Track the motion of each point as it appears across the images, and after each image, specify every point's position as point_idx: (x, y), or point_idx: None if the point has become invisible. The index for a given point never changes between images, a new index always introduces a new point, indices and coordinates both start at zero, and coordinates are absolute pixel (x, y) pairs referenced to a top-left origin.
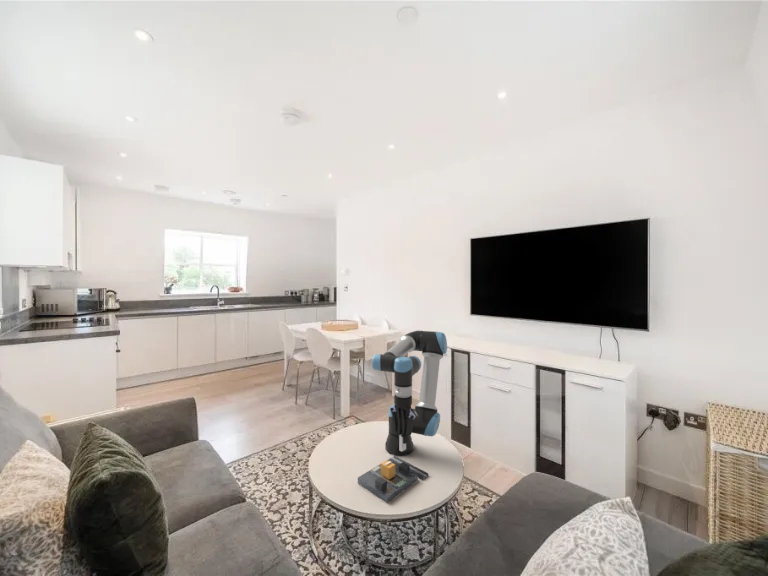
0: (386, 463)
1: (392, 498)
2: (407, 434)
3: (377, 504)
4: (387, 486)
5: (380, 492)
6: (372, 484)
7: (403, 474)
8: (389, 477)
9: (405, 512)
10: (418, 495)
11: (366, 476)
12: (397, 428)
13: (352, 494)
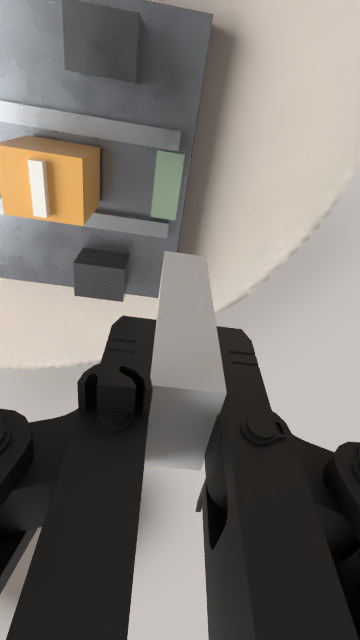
0: (36, 204)
1: None
2: (344, 560)
3: (143, 307)
4: (125, 245)
5: (128, 293)
6: (62, 273)
7: (125, 83)
8: (97, 204)
9: (253, 283)
10: (264, 158)
11: None
12: (11, 524)
13: (33, 317)
